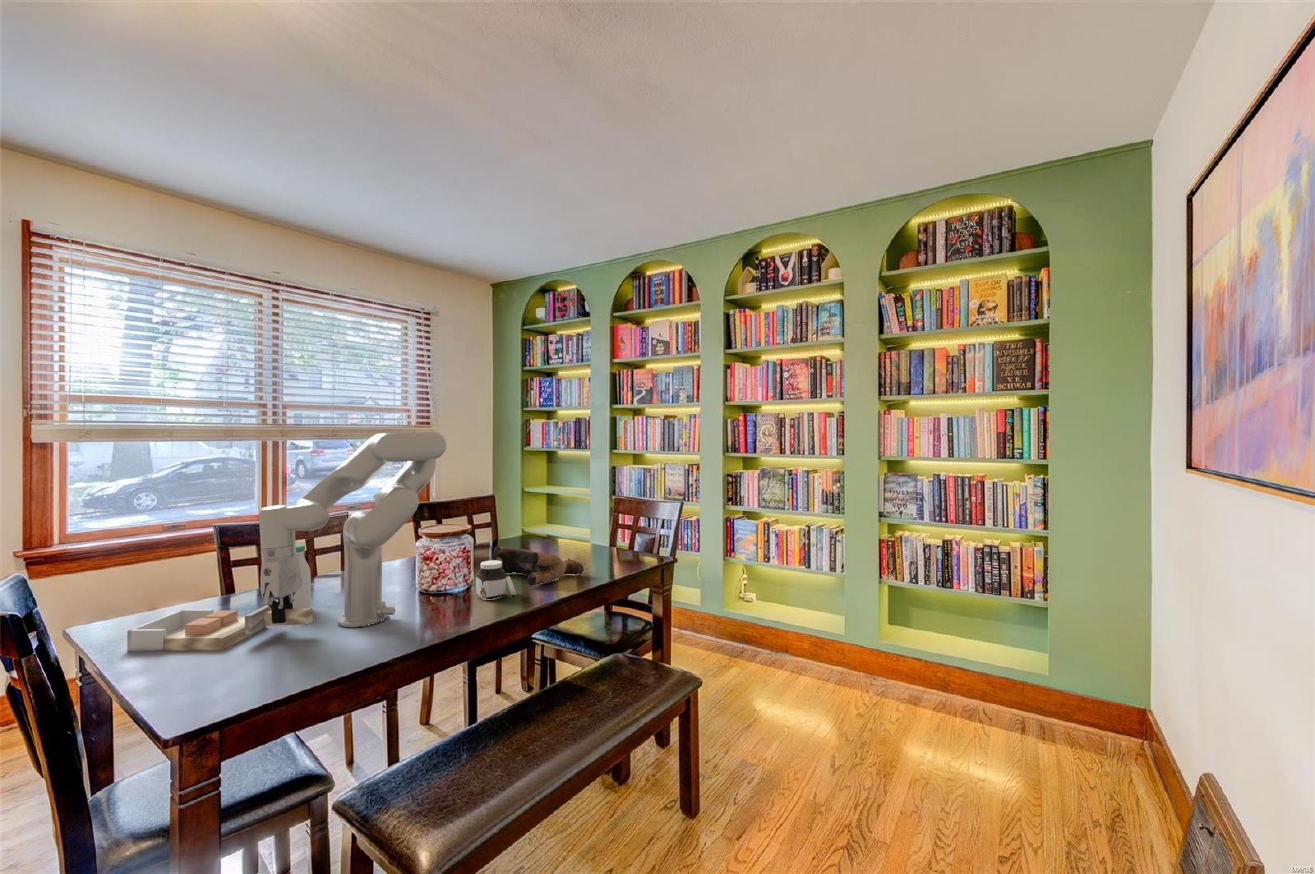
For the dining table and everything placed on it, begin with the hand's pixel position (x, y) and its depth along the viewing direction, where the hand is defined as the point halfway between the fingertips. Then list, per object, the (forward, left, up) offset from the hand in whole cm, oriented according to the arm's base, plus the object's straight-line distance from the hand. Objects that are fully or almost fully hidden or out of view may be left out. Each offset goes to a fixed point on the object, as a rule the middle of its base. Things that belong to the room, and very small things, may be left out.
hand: (282, 620), depth 143 cm
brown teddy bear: (-57, -60, -5) cm, 82 cm away
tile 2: (+18, -2, -1) cm, 18 cm away
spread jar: (-48, -34, -5) cm, 59 cm away
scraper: (-2, 0, -1) cm, 2 cm away
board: (+16, +1, -4) cm, 17 cm away
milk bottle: (+9, -20, -5) cm, 23 cm away
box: (+28, +1, -4) cm, 28 cm away
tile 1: (+18, +4, -1) cm, 18 cm away
